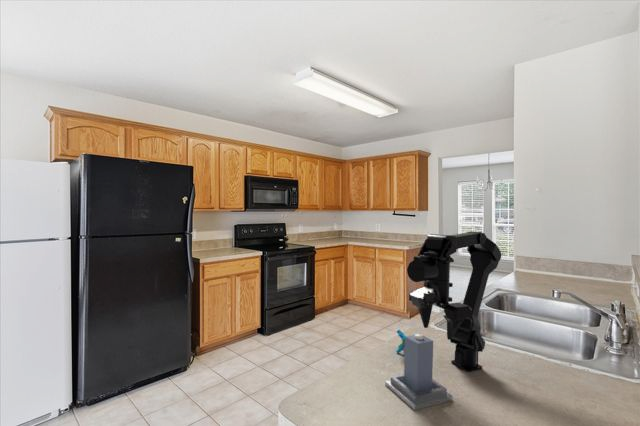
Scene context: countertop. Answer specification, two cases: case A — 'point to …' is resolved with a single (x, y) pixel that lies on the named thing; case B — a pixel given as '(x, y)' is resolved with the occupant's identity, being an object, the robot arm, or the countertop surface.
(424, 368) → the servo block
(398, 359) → the countertop surface
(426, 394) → the grey square tray
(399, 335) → the gear
